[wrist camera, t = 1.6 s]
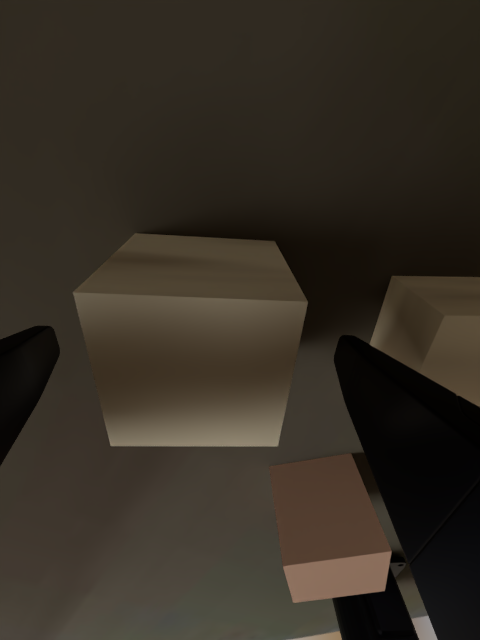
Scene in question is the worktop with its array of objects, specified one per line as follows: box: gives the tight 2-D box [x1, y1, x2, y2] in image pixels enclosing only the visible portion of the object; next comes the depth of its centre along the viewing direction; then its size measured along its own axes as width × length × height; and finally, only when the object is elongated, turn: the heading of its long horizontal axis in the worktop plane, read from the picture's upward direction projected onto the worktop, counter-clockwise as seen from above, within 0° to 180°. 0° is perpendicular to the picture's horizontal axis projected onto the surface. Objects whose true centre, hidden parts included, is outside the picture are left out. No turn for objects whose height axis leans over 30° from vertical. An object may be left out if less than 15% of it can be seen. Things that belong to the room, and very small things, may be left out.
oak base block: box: [370, 276, 480, 407], centre depth 12 cm, size 7×7×4 cm
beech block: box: [73, 233, 308, 446], centre depth 10 cm, size 5×5×5 cm
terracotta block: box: [269, 453, 392, 603], centre depth 17 cm, size 5×5×5 cm
